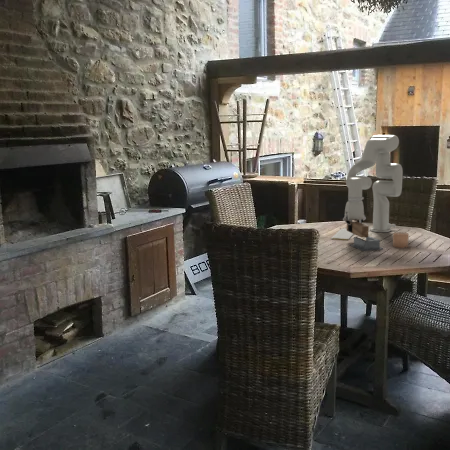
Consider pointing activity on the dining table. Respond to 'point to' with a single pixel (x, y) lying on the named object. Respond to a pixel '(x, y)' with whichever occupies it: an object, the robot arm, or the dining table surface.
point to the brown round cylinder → (400, 239)
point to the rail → (359, 229)
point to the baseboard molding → (342, 234)
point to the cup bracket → (366, 244)
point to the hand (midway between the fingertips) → (354, 231)
